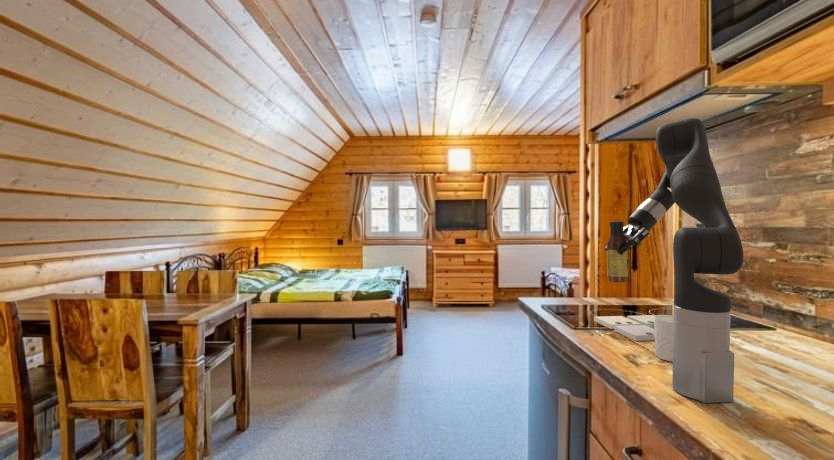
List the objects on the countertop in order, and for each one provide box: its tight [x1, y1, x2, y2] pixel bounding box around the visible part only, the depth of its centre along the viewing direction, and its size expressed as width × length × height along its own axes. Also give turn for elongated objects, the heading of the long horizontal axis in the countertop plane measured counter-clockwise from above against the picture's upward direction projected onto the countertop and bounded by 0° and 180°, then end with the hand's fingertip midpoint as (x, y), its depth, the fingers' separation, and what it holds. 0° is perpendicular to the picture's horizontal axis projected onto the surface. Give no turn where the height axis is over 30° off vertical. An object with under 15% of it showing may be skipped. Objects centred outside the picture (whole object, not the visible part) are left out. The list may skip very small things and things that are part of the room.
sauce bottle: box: [606, 220, 629, 283], centre depth 129 cm, size 7×6×20 cm
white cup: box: [653, 314, 674, 363], centre depth 98 cm, size 8×8×10 cm
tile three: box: [626, 314, 656, 329], centre depth 131 cm, size 10×10×2 cm
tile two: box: [593, 315, 641, 330], centre depth 130 cm, size 10×10×2 cm
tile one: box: [614, 325, 655, 342], centre depth 118 cm, size 10×10×2 cm
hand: (612, 251), depth 129 cm, fingers closed on sauce bottle, 6 cm apart
